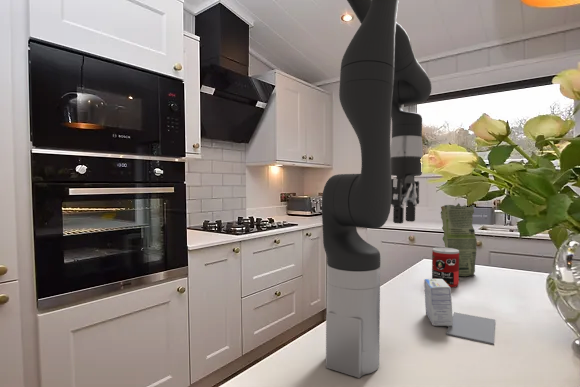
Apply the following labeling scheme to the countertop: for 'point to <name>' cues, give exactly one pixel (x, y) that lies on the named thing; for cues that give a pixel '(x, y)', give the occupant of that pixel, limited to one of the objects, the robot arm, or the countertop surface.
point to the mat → (472, 328)
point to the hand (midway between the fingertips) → (404, 222)
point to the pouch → (460, 235)
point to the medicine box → (438, 302)
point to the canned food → (446, 265)
